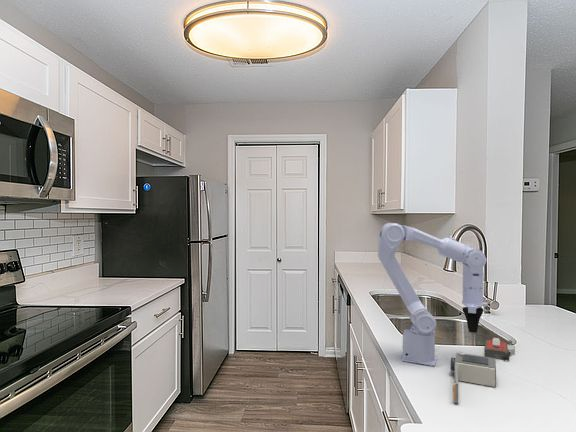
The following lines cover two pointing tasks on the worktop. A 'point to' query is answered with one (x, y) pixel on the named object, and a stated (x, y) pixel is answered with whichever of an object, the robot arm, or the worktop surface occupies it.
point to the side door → (455, 384)
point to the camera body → (475, 369)
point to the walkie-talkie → (499, 349)
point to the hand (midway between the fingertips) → (472, 331)
